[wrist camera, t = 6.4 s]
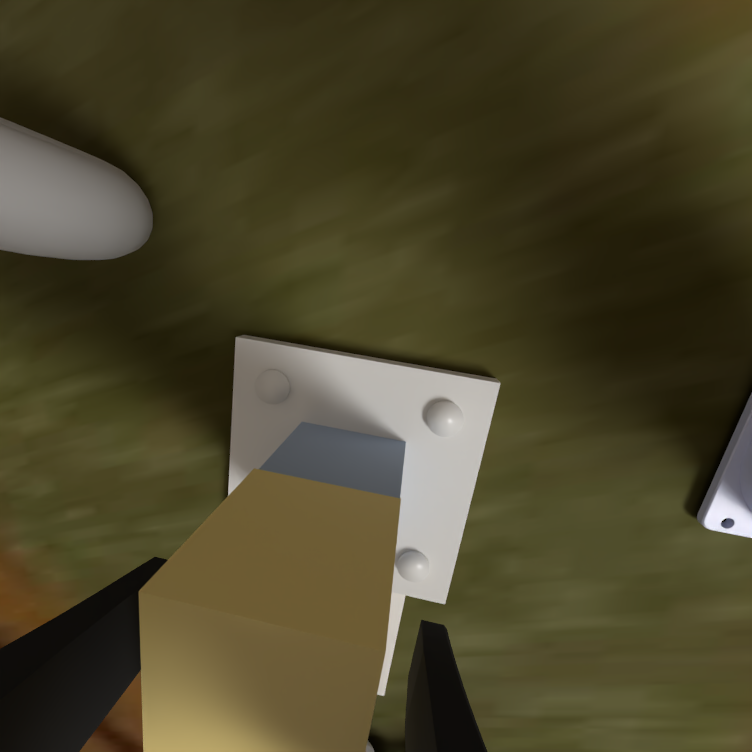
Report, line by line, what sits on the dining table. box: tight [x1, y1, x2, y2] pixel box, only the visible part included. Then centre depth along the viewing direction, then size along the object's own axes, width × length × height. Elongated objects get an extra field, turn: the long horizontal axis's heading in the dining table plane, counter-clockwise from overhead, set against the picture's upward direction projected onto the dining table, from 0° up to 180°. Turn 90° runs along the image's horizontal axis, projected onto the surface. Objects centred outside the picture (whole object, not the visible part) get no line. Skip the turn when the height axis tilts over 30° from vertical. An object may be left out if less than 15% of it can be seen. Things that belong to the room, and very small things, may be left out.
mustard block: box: [139, 468, 401, 752], centre depth 10 cm, size 5×5×5 cm
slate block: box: [259, 422, 406, 498], centre depth 15 cm, size 5×5×5 cm
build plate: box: [228, 335, 500, 604], centre depth 17 cm, size 12×12×1 cm
